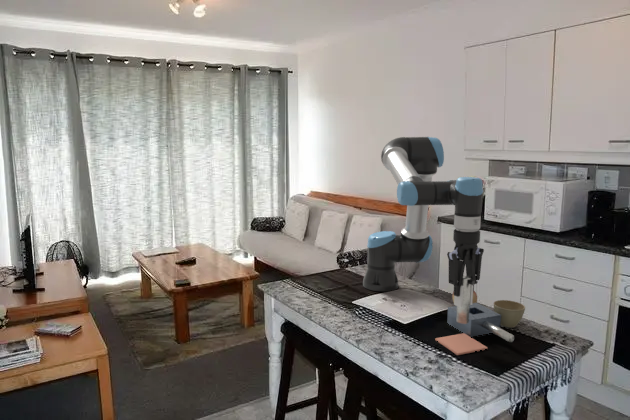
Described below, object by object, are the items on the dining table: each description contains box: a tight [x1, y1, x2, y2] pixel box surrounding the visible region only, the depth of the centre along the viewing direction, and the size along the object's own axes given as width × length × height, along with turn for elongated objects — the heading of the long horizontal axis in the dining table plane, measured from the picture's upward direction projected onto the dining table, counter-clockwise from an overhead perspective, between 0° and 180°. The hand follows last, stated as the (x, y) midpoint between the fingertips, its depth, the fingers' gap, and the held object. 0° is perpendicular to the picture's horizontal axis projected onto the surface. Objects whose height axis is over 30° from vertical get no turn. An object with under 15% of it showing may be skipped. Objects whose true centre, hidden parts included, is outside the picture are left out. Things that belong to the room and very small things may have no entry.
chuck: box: [446, 302, 515, 343], centre depth 150 cm, size 23×12×6 cm, turn 21°
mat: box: [434, 332, 488, 356], centre depth 143 cm, size 11×11×1 cm
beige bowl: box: [493, 299, 526, 329], centre depth 158 cm, size 10×10×7 cm
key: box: [456, 275, 476, 324], centre depth 141 cm, size 4×7×14 cm, turn 29°
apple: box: [452, 290, 478, 306], centre depth 173 cm, size 9×9×8 cm
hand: (463, 304), depth 141 cm, fingers closed on key, 4 cm apart
